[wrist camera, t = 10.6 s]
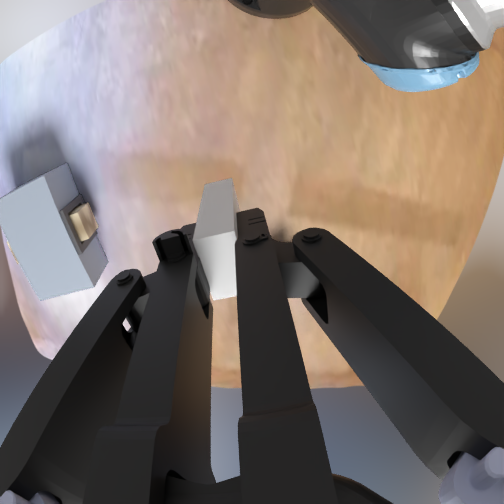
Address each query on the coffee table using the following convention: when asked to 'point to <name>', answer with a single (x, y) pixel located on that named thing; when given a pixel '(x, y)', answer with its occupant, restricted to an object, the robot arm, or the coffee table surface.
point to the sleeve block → (50, 235)
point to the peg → (80, 223)
